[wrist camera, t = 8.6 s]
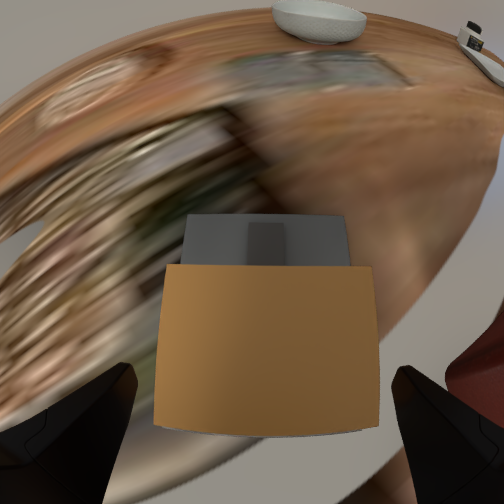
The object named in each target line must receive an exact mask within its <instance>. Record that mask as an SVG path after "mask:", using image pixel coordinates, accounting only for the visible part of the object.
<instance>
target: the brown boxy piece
mask: <svg viewBox="0 0 504 504" xmlns="http://www.w3.org/2000/svg"><path fill="white" fill-rule="evenodd" d="M379 400H380V366H379V340H378V324H377V312H376V301H375V291H374V283H373V274H372V267H371V266H285V254H284V223H259V222H249V225H248V251H247V265H190V264H167V268H166V275H165V283H164V290H163V298H162V306H161V315H160V325H159V335H158V347H157V360H156V376H155V397H154V425H159V426H164V427H170V428H176V429H182V430H190V431H197V432H206V433H216V434H229V435H247V436H294V435H313V434H325V433H335V432H344V431H352V430H359V429H365V428H371V427H377V426H379Z"/></svg>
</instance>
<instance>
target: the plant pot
mask: <svg viewBox="0 0 504 504" xmlns="http://www.w3.org/2000/svg"><path fill="white" fill-rule="evenodd" d="M445 382H446V385H447V389H448V392H450V393H451V394H452V395H454V396H455V397H457V398H458V399H460V400H461V401H463V402H464V403H465V404H467V405H468V406H470V407H471V408H473V409H474V410H476V411H477V412H478V413H480V414H482V415H483V416H484V417H486V418H487V419H489V420H490V421H492V422H494V423H495V424H497V425H499V426H500V427H502V428H504V311H503V312H502V313H501V315H500V316H499V317H498V318H497V319H496V320H495V321H494V322H493V323H492V324H491V325H490V327H489V328H488V329H487V330H486V331H485V332H484V333H483V334H482V335H481V336H480V337H479V338H478V339H477V340H476V341H475V342H474V343H473V344H472V345H471V346H469V347H468V348H467V349H466V350H465V351H464V352H463V353H462V354H461V355H460V356H459V357H457V358H456V359H455V360H454V361H453V362H452V363H451V364H450V365H449V366H448V367H447V370H446V372H445Z"/></svg>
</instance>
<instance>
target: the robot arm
mask: <svg viewBox="0 0 504 504" xmlns="http://www.w3.org/2000/svg"><path fill="white" fill-rule="evenodd" d="M137 387H138V380H137V377H136V374H135V371H134V368H133V366H132V365H131V364H130V363H124V362H120V363H118V364H116V365H115V366H113V367H112V368H110V369H109V370H107V371H106V372H104V373H102V374H101V375H99V376H98V377H96V378H95V379H93V380H91V381H90V382H88V383H87V384H85V385H84V386H82V387H80V388H79V389H77V390H76V391H74V392H73V393H71V394H69V395H68V396H66V397H65V398H63V399H61V400H60V401H58V402H57V403H55V404H53V405H52V406H50V407H48V409H45V410H43V411H42V412H40V413H39V414H37V415H35V416H33V417H32V418H30V419H28V420H26V421H24V422H22V423H20V424H18V425H16V426H14V427H11V428H9V429H7V430H5V431H3V432H0V504H102V502H103V499H104V496H105V492H106V489H107V486H108V483H109V479H110V476H111V473H112V470H113V467H114V464H115V461H116V458H117V455H118V452H119V449H120V446H121V443H122V441H123V438H124V435H125V432H126V429H127V426H128V423H129V420H130V416H131V412H132V408H133V404H134V400H135V395H136V391H137ZM391 389H392V394H393V399H394V404H395V410H396V415H397V421H398V426H399V429H400V433H401V436H402V440H403V444H404V447H405V451H406V455H407V459H408V463H409V467H410V471H411V475H412V479H413V484H414V488H415V493H416V498H417V503H418V504H504V428H502V427H500V426H499V425H497V424H495V423H494V422H492V421H490V420H489V419H487V418H486V417H484V416H483V415H482V414H480V413H478V412H477V411H476V410H474V409H473V408H471V407H470V406H468V405H467V404H465V403H464V402H463V401H461V400H460V399H458V398H457V397H455V396H454V395H452V394H451V393H450V392H448V391H447V390H445V389H444V388H442V387H441V386H439V385H438V384H437V383H435V382H434V381H432V380H431V379H429V378H428V377H426V376H425V375H424V374H422V373H421V372H419V371H418V370H416V369H415V368H413V367H412V366H410V365H406V366H400V367H399V368H398V370H397V372H396V374H395V377H394V379H393V381H392V385H391Z"/></svg>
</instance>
